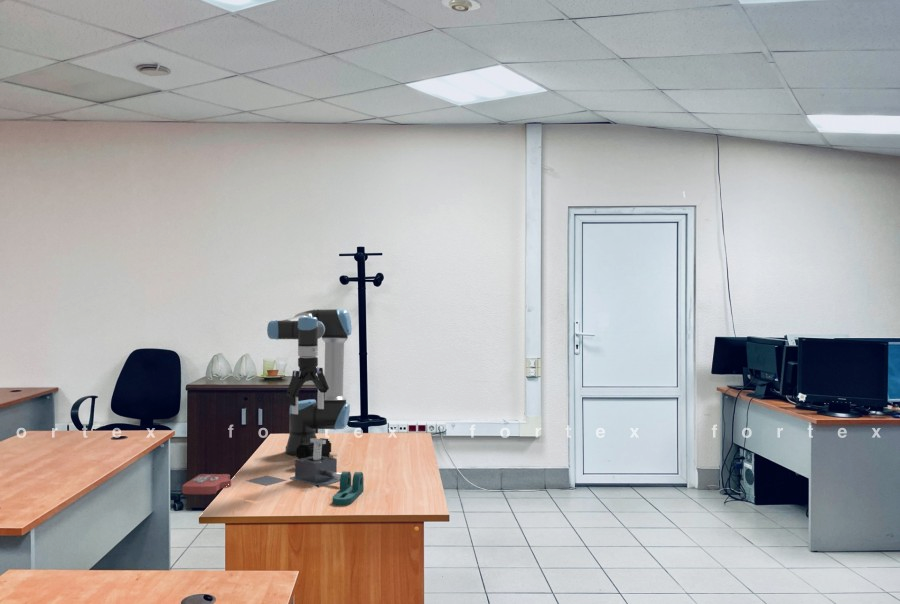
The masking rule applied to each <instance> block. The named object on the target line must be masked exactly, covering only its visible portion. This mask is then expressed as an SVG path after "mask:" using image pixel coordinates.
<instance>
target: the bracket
mask: <svg viewBox="0 0 900 604" xmlns="http://www.w3.org/2000/svg"><path fill="white" fill-rule="evenodd" d="M364 481H365V479H364V474H363V472H362V471H355V472H354V473H353V476H352V473H351V471H346V470H345V471H343V470H342V472H341V477H340V481H339V490H338V491H337V492H336V493H335V494H333V496H332V497H331V498H332V501H331V502H332V505H334V506H349V505H351V504H353V503H354V502H355V501H356V500H357V499H358V498H359V496H361V495H362V493H364V488H365V487H364Z"/></svg>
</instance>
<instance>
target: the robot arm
mask: <svg viewBox="0 0 900 604" xmlns="http://www.w3.org/2000/svg"><path fill="white" fill-rule="evenodd" d="M266 328H267V329H266V330H267V331H266V333H267V334H266V335H267V336H268V339H270V340H276V341H278V340H297V356H298V359H297V366H298V370H292V376H291V379H290V381H289V382H290V383H289V385H288V387H287V390H286V394H285V395H286V396H287V397H290V405H289V413H288V415H289V426H288V427H289V433H288V435H289V437H288V439H287V444H286V446H285V447H284V448H285V449H284V450H285V454H286V455H289V456H296V454H297V448H298V446H300V444H303V443H306V442H309V441H310V438H316V439H318V437H317V434H316V432H317V430H343V429H345V428H346V427H347V425H348V422H349V418H350V412H351V411H350V409H351V405H350V404H349V402H347V398H346V397H345V396H344V370H345V369H344V366H345V365H344V363H345V362H344V361H345V360H344V359H345V357H344V356H345V342H346V341H348V336H350V335H351V334H352V329H353V328H352V321H351V316H350V313H349V312H348V311H347V310H346V309H339V308H338V309H335V308H334V309H319V308H318V309H317V308H316V309H311V310H306V311H302V312H299V313H297V314H295V315H294V316H293V317H290V318H287V319H282V320H277V319H276V320H270V321H269V322H267V327H266ZM320 338H321V339H322V341H323V342H324V367H318V365H319V358H318V356H319V354H318V353H319V352H318V350H319V348H318V347H319V346H318V344H319V343H318V342H319V341H318V340H319V339H320ZM309 381H312V383H313V384H314V386H315V387H316V388H317V390H318V392H317V400H316V399H304V400H299V396H298V395H299V392H300V391H301V389H302V387H303V386H304V384H305V383H306V382H309Z"/></svg>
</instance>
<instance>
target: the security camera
mask: <svg viewBox="0 0 900 604" xmlns="http://www.w3.org/2000/svg"><path fill="white" fill-rule="evenodd" d="M319 439H322V440H326V444H322V451H321V456H325V457H330V458H332V457H331V456H330V454H331V453H332V442H331V441H330V440H329V438H323V437H322V438H321V437H320V438H319ZM313 451H314V443H313V442H310V441H309V442H306V443H303V444H300V446H298V448H297V454H296V455H295V456H296V458H297V459H301V458H306V457H310V456H313Z"/></svg>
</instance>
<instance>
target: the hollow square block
mask: <svg viewBox="0 0 900 604" xmlns="http://www.w3.org/2000/svg"><path fill="white" fill-rule="evenodd" d="M330 457H331V456H329V457H325V456H321V460H319V461H313V456H310V457H306V458H301V459H298V458H297V459H294V476H292V477H289V480H293V481H298V482H303V483H306V484H310V485H314V487H318V488H320V487H323V486H326V485H327V486H328V485H330V484H331V485H332V484H333V483H338V482H340V477H341V473H342V472H341V473H339V472H338V471H337V470H338V469H337V466H338V465H337V464H338V459H337V458H335V457H331V458H330Z"/></svg>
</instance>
